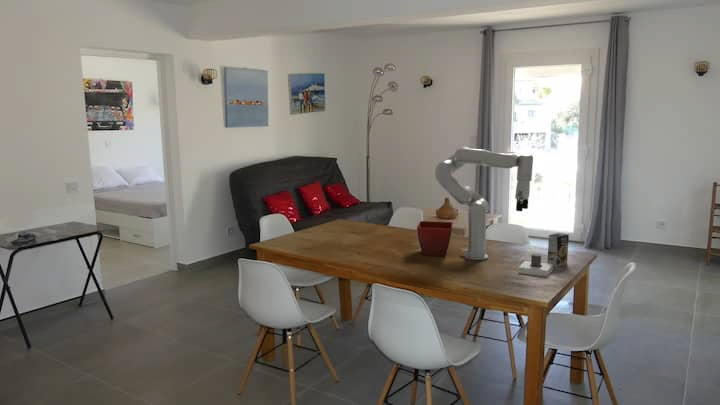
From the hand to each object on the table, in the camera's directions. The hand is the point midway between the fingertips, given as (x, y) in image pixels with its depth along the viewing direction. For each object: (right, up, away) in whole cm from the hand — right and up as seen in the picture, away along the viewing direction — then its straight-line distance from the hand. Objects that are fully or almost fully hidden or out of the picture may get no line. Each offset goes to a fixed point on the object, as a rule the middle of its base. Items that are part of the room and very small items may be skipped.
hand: (521, 209), depth 296 cm
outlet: (+3, -31, -15) cm, 35 cm away
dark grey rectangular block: (+3, -30, -15) cm, 34 cm away
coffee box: (+18, -29, -2) cm, 34 cm away
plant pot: (-43, -26, +23) cm, 55 cm away
